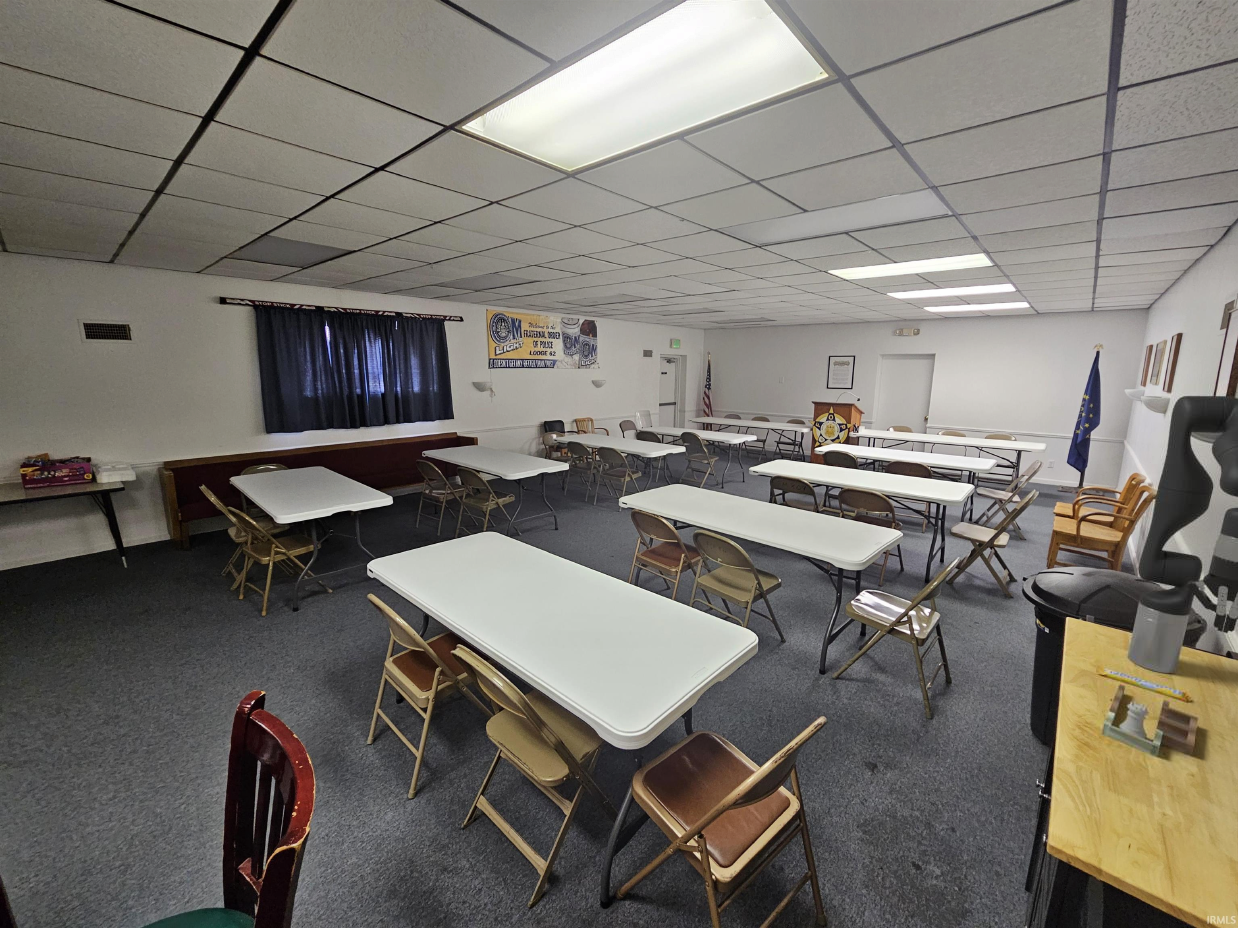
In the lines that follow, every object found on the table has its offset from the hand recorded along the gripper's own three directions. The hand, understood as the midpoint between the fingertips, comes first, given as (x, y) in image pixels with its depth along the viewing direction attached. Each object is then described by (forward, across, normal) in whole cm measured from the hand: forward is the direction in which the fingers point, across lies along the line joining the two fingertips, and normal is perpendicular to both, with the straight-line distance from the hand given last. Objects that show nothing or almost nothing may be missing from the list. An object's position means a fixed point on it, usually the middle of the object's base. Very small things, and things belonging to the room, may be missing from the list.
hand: (1222, 630), depth 104 cm
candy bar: (+26, +10, -13) cm, 31 cm away
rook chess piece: (+25, +9, +15) cm, 31 cm away
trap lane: (+25, +7, +7) cm, 27 cm away
